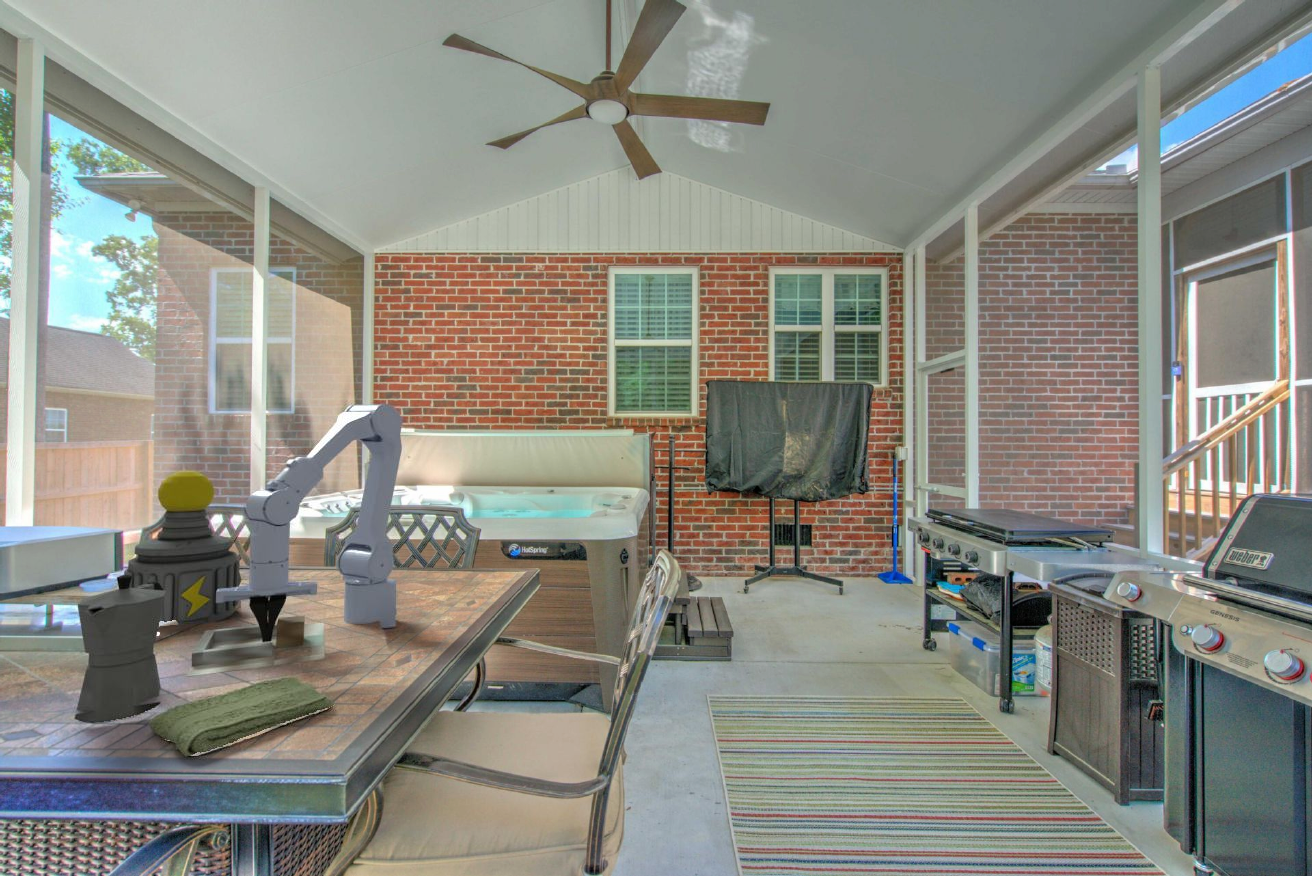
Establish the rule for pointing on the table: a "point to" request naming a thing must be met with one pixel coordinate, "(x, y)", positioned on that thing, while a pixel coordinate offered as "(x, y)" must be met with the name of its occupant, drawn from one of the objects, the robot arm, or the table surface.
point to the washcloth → (237, 714)
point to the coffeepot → (120, 651)
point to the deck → (249, 649)
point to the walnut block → (290, 631)
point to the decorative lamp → (187, 555)
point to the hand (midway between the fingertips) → (267, 640)
